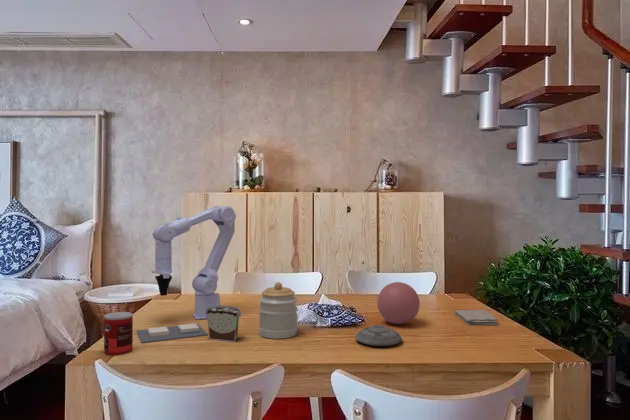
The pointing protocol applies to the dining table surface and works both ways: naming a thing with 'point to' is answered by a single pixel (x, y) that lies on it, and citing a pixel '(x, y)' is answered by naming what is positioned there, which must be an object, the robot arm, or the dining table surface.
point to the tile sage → (158, 332)
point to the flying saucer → (378, 336)
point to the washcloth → (476, 317)
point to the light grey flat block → (188, 328)
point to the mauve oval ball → (398, 303)
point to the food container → (223, 322)
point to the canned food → (118, 333)
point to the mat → (173, 334)
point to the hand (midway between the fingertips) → (163, 295)
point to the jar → (278, 313)
